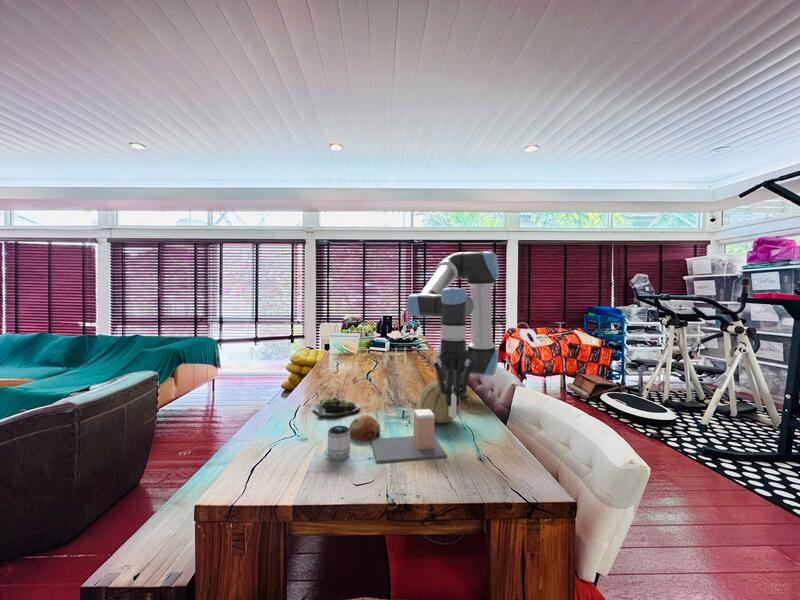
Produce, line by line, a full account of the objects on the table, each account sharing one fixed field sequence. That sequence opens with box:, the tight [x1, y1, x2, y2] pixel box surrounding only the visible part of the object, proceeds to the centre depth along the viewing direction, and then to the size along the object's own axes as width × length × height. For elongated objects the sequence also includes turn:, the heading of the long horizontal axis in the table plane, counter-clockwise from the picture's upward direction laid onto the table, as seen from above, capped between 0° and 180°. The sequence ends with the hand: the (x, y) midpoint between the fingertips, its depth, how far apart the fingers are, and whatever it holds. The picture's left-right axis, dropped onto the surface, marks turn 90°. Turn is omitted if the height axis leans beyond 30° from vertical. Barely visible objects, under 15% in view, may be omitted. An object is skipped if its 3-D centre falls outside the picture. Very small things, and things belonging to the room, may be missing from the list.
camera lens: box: [327, 425, 351, 461], centre depth 96 cm, size 6×6×8 cm
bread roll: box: [348, 414, 382, 442], centre depth 110 cm, size 10×10×8 cm
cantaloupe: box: [419, 380, 461, 424], centre depth 122 cm, size 15×15×15 cm
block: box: [413, 408, 435, 450], centre depth 102 cm, size 5×5×10 cm
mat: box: [370, 435, 448, 464], centre depth 101 cm, size 20×14×1 cm
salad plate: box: [312, 397, 361, 419], centre depth 134 cm, size 19×18×5 cm
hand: (452, 416), depth 103 cm, fingers closed
